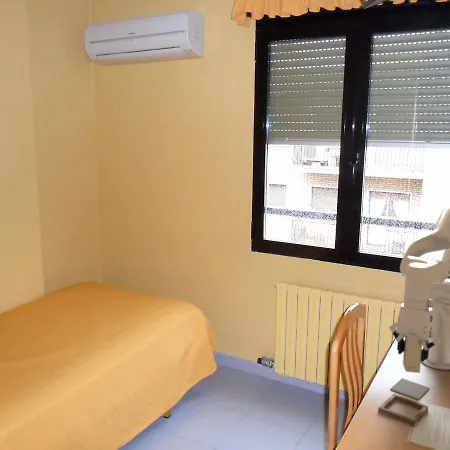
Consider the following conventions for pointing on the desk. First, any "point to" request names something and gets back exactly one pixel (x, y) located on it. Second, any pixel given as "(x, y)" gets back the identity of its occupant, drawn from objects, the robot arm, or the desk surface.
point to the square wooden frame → (399, 417)
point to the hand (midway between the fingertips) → (412, 355)
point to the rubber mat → (410, 389)
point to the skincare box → (412, 353)
